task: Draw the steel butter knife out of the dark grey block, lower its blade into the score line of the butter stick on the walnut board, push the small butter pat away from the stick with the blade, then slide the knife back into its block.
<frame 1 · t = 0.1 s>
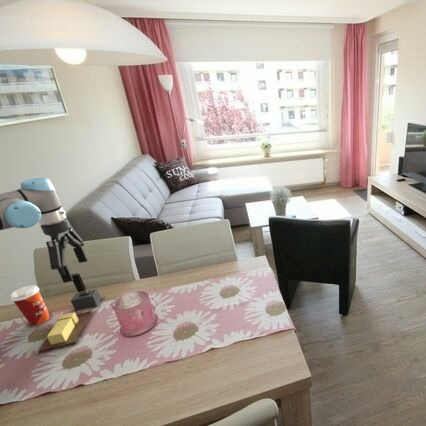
hand: (76, 271, 112), 22 cm above the table, tool pointing down, fingers open, 13 cm apart
butter board: (68, 331, 113), on the table
dark grey block: (88, 304, 127), on the table
butter stick: (63, 335, 110), point 1 cm above the table, touching butter board
butter pat: (70, 323, 116), point 1 cm above the table, touching butter board
coffee cup: (40, 320, 120), on the table
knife: (87, 303, 127), point 1 cm above the table, touching dark grey block
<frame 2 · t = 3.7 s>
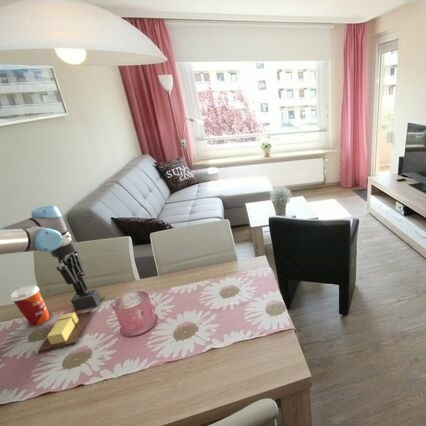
hand: (82, 292, 124), 7 cm above the table, tool pointing down, fingers closed on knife, 2 cm apart
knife: (87, 303, 127), point 1 cm above the table, touching gripper, dark grey block
everything else where it was.
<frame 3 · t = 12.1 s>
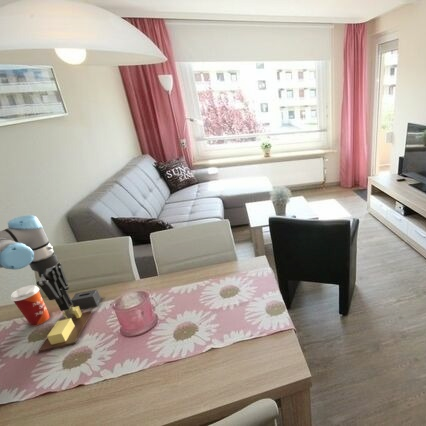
hand: (66, 307, 115), 7 cm above the table, tool pointing down, fingers closed on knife, 2 cm apart
butter pat: (74, 317, 119), point 1 cm above the table, touching butter board, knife
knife: (72, 318, 118), point 1 cm above the table, touching butter pat, gripper
everything else where it was.
when the fingers open (7 cm above the table, at t = 19.0 s): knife stays where it is, resting on dark grey block.
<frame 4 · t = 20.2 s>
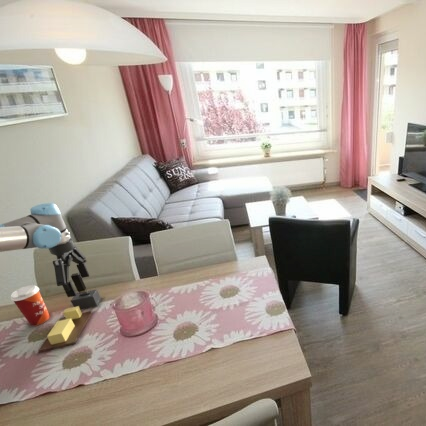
hand: (79, 286, 123), 10 cm above the table, tool pointing down, fingers open, 13 cm apart
butter pat: (74, 317, 119), point 1 cm above the table, touching butter board
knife: (88, 302, 127), point 1 cm above the table, touching dark grey block
everything else where it was.
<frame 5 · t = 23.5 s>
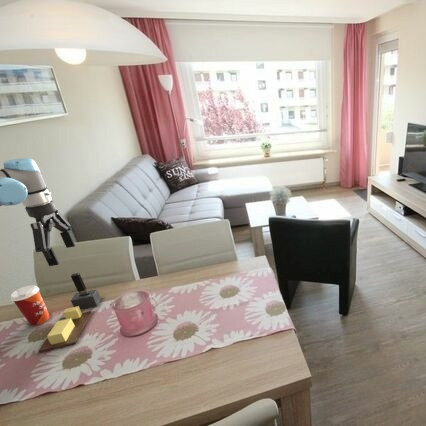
hand: (63, 255, 110), 29 cm above the table, tool pointing down, fingers open, 13 cm apart
nothing on the table moved.
at the end: butter pat touching butter board; butter pat moved 3.6 cm from its start; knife 0.1 cm off-centre on the dark grey block, point 1.0 cm above the dark grey block's base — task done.
